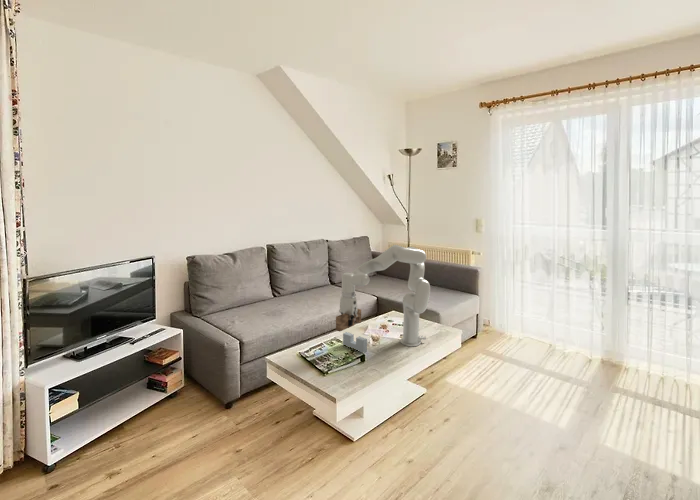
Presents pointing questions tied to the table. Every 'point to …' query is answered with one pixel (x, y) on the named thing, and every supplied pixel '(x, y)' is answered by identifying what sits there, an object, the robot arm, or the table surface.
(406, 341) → the robot arm
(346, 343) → the grey u-shaped block
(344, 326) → the brown wooden board
